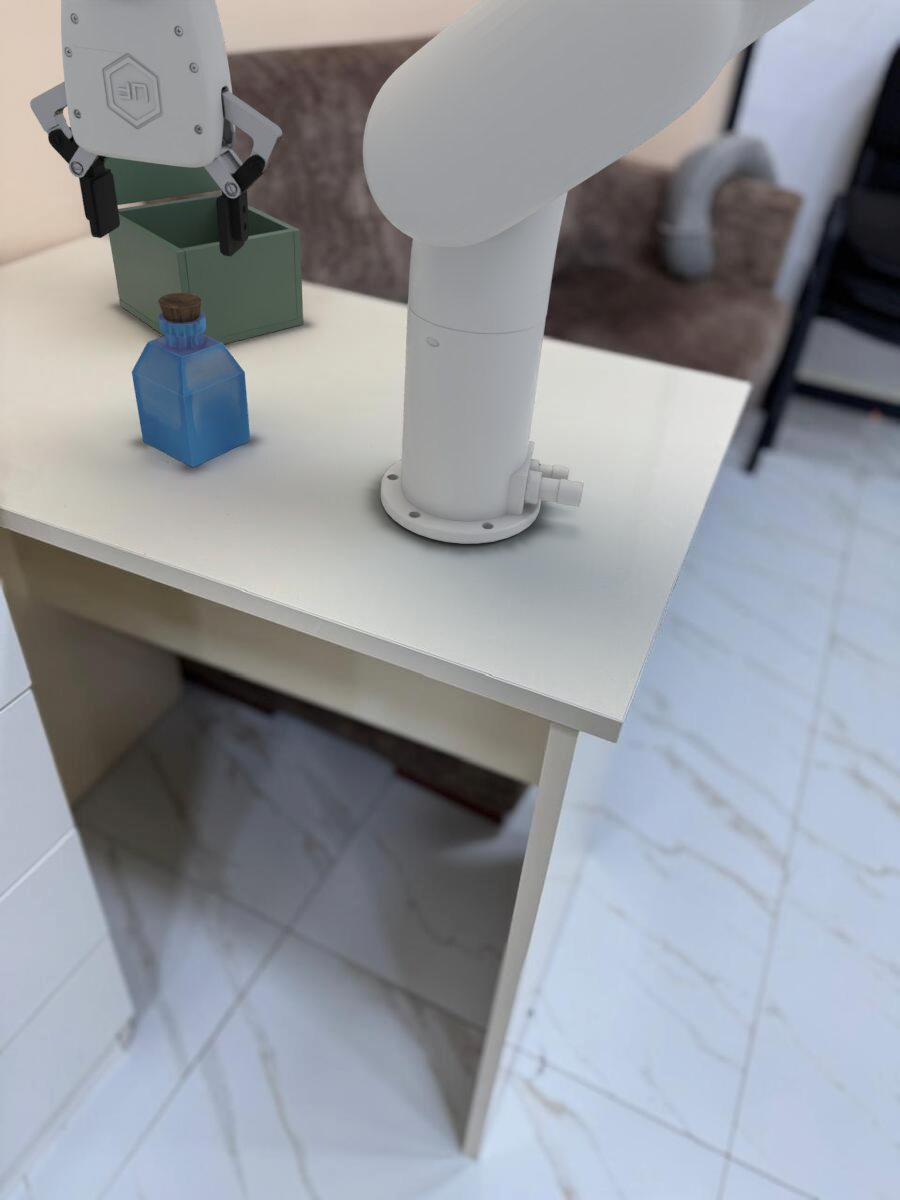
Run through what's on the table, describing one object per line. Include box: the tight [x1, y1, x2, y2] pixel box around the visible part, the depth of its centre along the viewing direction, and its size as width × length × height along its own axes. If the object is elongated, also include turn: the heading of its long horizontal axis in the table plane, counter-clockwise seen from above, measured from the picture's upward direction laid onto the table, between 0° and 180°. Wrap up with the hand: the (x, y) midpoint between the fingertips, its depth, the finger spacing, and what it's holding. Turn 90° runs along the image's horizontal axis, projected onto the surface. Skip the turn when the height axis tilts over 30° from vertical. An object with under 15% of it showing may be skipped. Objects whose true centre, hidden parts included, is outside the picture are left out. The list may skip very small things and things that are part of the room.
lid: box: [104, 157, 222, 206], centre depth 91 cm, size 16×14×5 cm
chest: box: [108, 193, 304, 345], centre depth 94 cm, size 15×14×10 cm
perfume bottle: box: [131, 293, 251, 468], centre depth 72 cm, size 6×6×12 cm
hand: (169, 241), depth 66 cm, fingers open, 9 cm apart
